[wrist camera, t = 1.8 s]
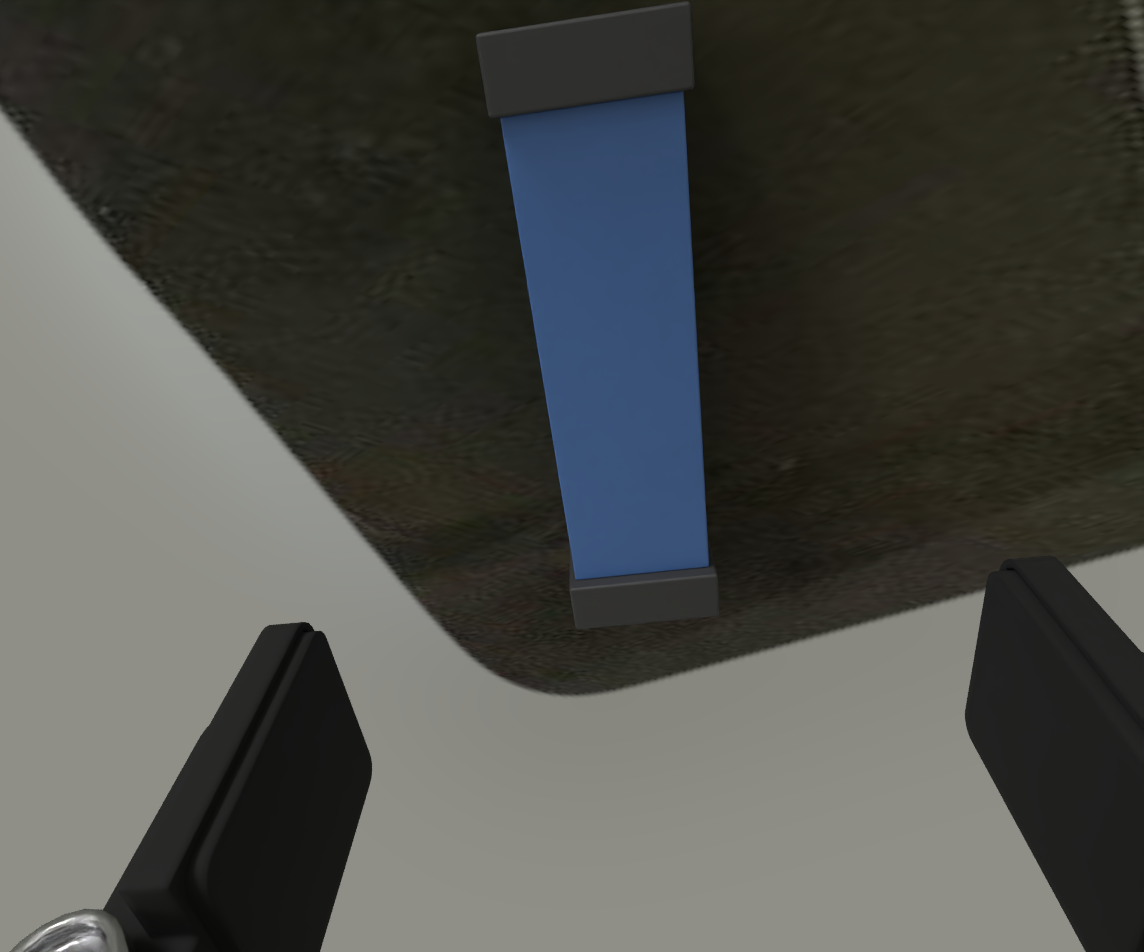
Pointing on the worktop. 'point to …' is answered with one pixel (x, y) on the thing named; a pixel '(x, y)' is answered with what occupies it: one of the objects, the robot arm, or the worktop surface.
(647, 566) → the handle
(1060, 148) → the worktop surface
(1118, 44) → the worktop surface
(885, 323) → the worktop surface
